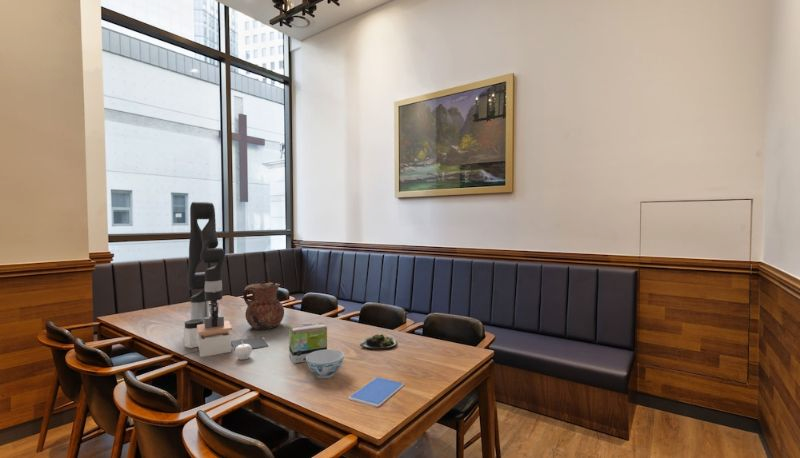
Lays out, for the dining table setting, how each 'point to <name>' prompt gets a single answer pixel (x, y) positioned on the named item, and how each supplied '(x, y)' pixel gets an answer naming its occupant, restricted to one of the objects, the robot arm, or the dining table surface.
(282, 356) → the dining table surface
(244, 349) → the plain white apple
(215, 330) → the lid
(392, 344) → the salad plate
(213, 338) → the storage box
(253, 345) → the mat
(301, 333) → the tea box
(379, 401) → the tablet computer
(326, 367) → the chinaware
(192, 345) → the jar
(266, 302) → the jug
